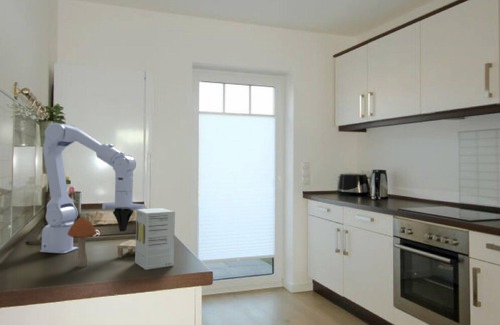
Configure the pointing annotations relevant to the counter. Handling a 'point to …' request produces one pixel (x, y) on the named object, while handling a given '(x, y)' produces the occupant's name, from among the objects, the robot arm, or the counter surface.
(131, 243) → the footstool
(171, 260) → the supplement box
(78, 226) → the mushroom
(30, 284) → the counter surface
